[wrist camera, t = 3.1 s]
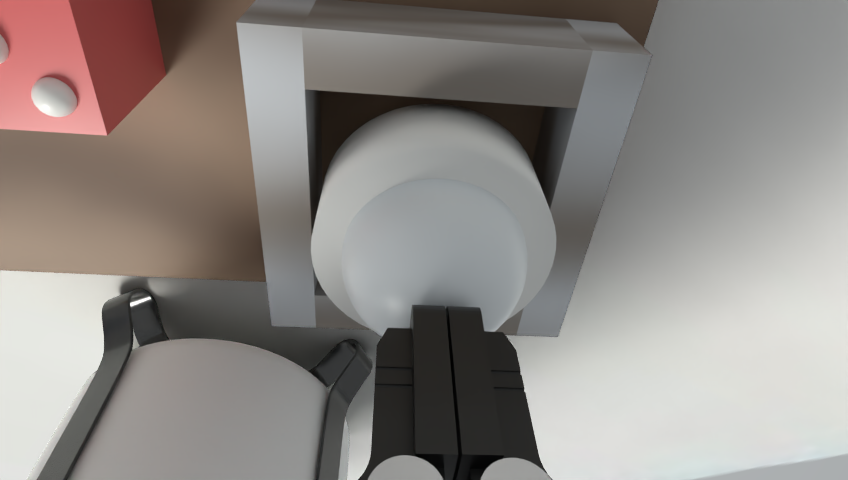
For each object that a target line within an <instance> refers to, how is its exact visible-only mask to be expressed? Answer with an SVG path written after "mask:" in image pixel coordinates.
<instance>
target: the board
mask: <svg viewBox="0 0 848 480" xmlns="http://www.w3.org/2000/svg"><path fill="white" fill-rule="evenodd" d="M658 1H659V0H151V2H152V7H153V12H154V17H155V22H156V27H157V32H158V37H159V42H160V47H161V52H162V57H163V62H164V67H165V72H166V76H165V77H164V78H163V79H162V80H161V81H160V82H159V83H158V84H157V85H156V86H155V87H154V88H153V89H152V90H151V91H150V92H149V93H148V94H147V96H146V97H145V98H144V99H143V100H142V101H141V102H140V103H139V104H138V105H137V106H136V107H135V108H134V109H133V110H132V111H131V112H130V113H129V114H128V115H127V116H126V117H125V118H124V119H123V120H122V121H121V122H120V123H119V124H118V125H117V126H116V127H115V128H114V129H113V130H112V131H111V132H110V133H109V134H108V135H107V136H106V135H90V134H74V133H58V132H42V131H26V130H10V129H0V270H9V271H31V272H54V273H77V274H100V275H122V276H145V277H168V278H191V279H213V280H236V281H259V282H267V291H268V300H269V308H270V317H271V326H283V327H309V328H335V329H361V330H371V329H369V328H367V327H365V326H363V325H361V324H359V323H357V322H356V321H354V320H353V319H351V318H350V317H348V316H347V315H346V314H345V313H343V312H342V311H341V310H340V309H339V308H338V307H337V306H336V305H335V304H334V303H333V302H332V301H331V300H330V299H329V297H328V296H327V295H326V293H325V292H324V290H323V289H322V287H321V285H320V283H319V281H318V279H317V277H316V274H315V271H314V267H313V264H312V257H311V238H312V233H313V228H314V223H315V219H316V215H317V210H318V206H319V201H320V197H321V193H322V188H323V184H324V179H325V175H326V172H327V170H328V167H329V164H330V162H331V160H332V159H333V157H334V155H335V153H336V152H337V150H338V149H339V148H340V146H341V145H342V144H343V143H344V141H345V140H346V139H347V138H348V137H349V136H350V135H351V134H352V133H353V132H355V131H356V130H357V129H358V128H360V127H361V126H363V125H364V124H365V123H367V122H368V121H370V120H372V119H374V118H376V117H378V116H380V115H382V114H384V113H387V112H390V111H392V110H395V109H399V108H403V107H407V106H412V105H421V104H445V105H453V106H459V107H462V108H466V109H470V110H473V111H475V112H478V113H480V114H483V115H485V116H487V117H489V118H491V119H492V120H494V121H496V122H497V123H499V124H500V125H502V126H503V127H504V128H505V129H507V130H508V131H509V132H510V133H511V134H512V135H513V136H514V137H515V138H516V139H517V140H518V141H519V142H520V144H521V145H522V147H523V148H524V150H525V151H526V153H527V155H528V157H529V159H530V161H531V163H532V165H533V168H534V170H535V173H536V175H537V178H538V181H539V183H540V186H541V188H542V191H543V194H544V196H545V199H546V201H547V204H548V206H549V209H550V212H551V215H552V218H553V221H554V225H555V231H556V252H555V257H554V262H553V265H552V268H551V270H550V273H549V276H548V277H547V279H546V281H545V283H544V285H543V286H542V288H541V289H540V290H539V292H538V293H537V294H536V296H535V297H534V298H533V299H532V300H531V301H530V302H529V303H528V304H527V305H526V306H525V307H524V308H523V309H522V310H520V311H519V312H518V313H517V314H515V315H514V316H512V317H511V318H509V319H508V320H506V321H505V322H504V323H503V324H502V325H501V326H500V327H499V328H498V329H497V330H496V331H495V332H503V333H504V334H505V335H519V336H546V337H558V335H559V332H560V329H561V326H562V323H563V320H564V317H565V314H566V311H567V308H568V305H569V302H570V299H571V296H572V293H573V290H574V287H575V284H576V281H577V278H578V275H579V272H580V269H581V266H582V263H583V260H584V257H585V254H586V251H587V248H588V245H589V243H590V240H591V237H592V234H593V231H594V228H595V225H596V222H597V219H598V216H599V213H600V210H601V207H602V204H603V201H604V198H605V195H606V192H607V189H608V186H609V183H610V180H611V177H612V174H613V171H614V168H615V165H616V162H617V159H618V156H619V153H620V150H621V147H622V144H623V141H624V138H625V135H626V132H627V129H628V126H629V123H630V120H631V117H632V114H633V111H634V108H635V105H636V102H637V99H638V96H639V94H640V91H641V88H642V85H643V82H644V79H645V76H646V73H647V70H648V67H649V64H650V61H651V58H652V54H650V53H649V52H648V51H647V50H646V49H645V48H644V44H645V41H646V38H647V35H648V31H649V28H650V25H651V22H652V19H653V16H654V13H655V10H656V7H657V4H658Z"/></svg>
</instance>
